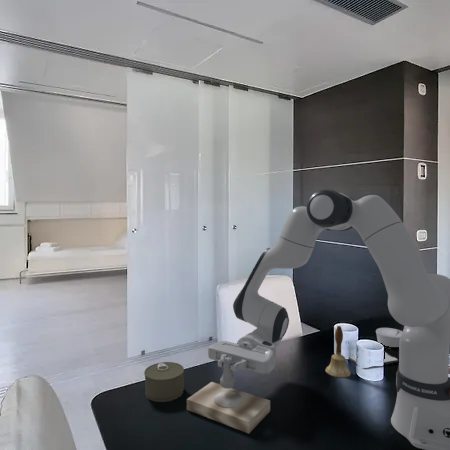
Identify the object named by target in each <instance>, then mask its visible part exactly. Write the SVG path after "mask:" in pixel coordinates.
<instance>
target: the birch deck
mask: <svg viewBox="0 0 450 450" xmlns="http://www.w3.org/2000/svg"><path fill="white" fill-rule="evenodd" d="M186 410H187V411H189V412H192V413H195V414H198V415H200V416H202V417H206V418H207V419H210V420H211V421H212V420H213V421H216V422H217V423H220V424H223V425H225V426H227V427H231V428H233V429H236V430H239V431H241V432H242V433H243V432H244V433H246V434H249V435H250V433H251V432H252V431H253V430H254V429H255V428H256V427H257V426H258V425H259V423H261V421H263V419H265V417H266V416H267V415H268V414H269V413H270V412H271V400H269V399H267V398H263V397H260V396H257V395H254V394H252V393H251V394H250V393H247V392H245V391H241V390H239V389H236V388H234V387H233V388H230V389H226V388H223V387H222V386H221V385H220V383H218V382H217V383H216V382H214V381H211V382H209V383H207V384H206V385H205V386H202V388H200V389H199V390H198V391H196V392H195V393H193V394H192V395H191V396H189V397H187V399H186Z"/></svg>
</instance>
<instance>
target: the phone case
mask: <svg viewBox="0 0 450 450" xmlns="http://www.w3.org/2000/svg"><path fill="white" fill-rule="evenodd" d="M384 352H385V351H384ZM353 356H354V357H353ZM355 356H356V355H352V356H351V355H350V356H349V357H348V360H349V362H351V363H353V364H356V358H355ZM398 361H399V358H398V357H395V356H393V355H391V354H390V353H388V352H385V359H384V363H385V364H389V363H393V362H398Z"/></svg>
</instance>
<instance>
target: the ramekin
mask: <svg viewBox="0 0 450 450" xmlns="http://www.w3.org/2000/svg"><path fill="white" fill-rule="evenodd" d="M375 333H376V339H377V343H378V342H379V343H382V344H383V345H385V346H389V347H399V342H400V337H401V335H402V333H403V330H401V329H397V328H391V327H379V328H376V330H375ZM379 343H378V344H379Z"/></svg>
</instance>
